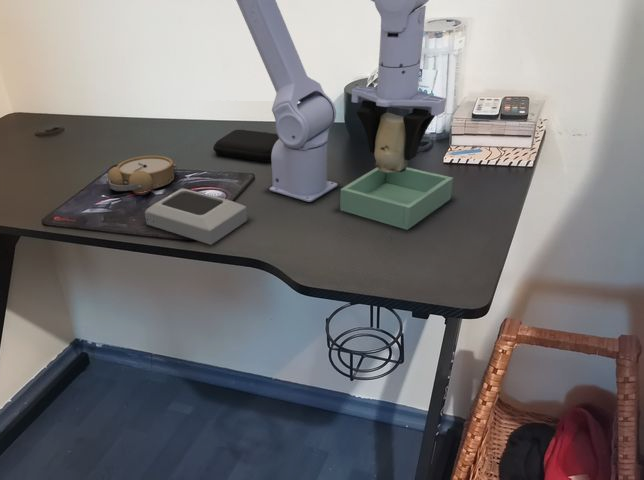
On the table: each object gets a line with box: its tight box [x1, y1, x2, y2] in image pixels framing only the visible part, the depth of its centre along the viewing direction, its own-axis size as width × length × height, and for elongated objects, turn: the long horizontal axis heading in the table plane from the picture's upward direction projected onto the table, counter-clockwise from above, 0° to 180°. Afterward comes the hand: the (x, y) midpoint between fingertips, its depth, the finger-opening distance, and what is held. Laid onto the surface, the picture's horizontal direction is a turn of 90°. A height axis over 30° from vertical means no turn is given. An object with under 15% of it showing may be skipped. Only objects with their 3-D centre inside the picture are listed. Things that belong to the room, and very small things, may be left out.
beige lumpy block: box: [374, 112, 409, 173], centre depth 97 cm, size 6×5×8 cm
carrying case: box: [213, 129, 279, 163], centre depth 130 cm, size 11×3×15 cm
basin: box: [339, 165, 454, 231], centre depth 103 cm, size 13×13×4 cm
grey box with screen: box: [144, 187, 248, 246], centre depth 108 cm, size 10×4×15 cm
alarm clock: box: [105, 155, 178, 196], centre depth 124 cm, size 11×5×15 cm
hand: (392, 154), depth 99 cm, fingers closed on beige lumpy block, 6 cm apart
